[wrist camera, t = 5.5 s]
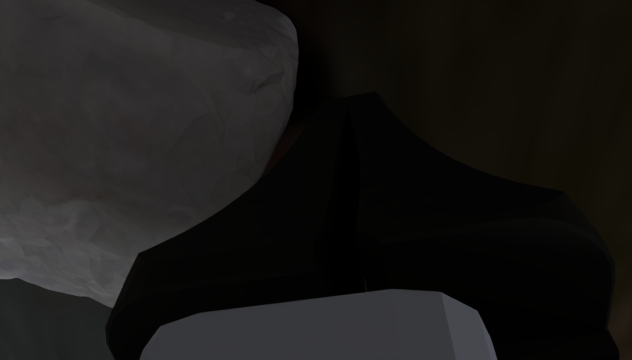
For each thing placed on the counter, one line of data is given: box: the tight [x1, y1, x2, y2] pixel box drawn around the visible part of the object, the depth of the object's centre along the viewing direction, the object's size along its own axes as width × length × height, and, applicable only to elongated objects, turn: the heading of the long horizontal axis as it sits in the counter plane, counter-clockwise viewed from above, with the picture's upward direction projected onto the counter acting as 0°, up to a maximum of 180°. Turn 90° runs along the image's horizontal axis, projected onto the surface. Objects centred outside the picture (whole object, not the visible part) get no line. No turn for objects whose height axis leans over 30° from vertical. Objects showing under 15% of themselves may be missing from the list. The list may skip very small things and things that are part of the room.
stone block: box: [0, 0, 299, 308], centre depth 13 cm, size 12×5×10 cm
